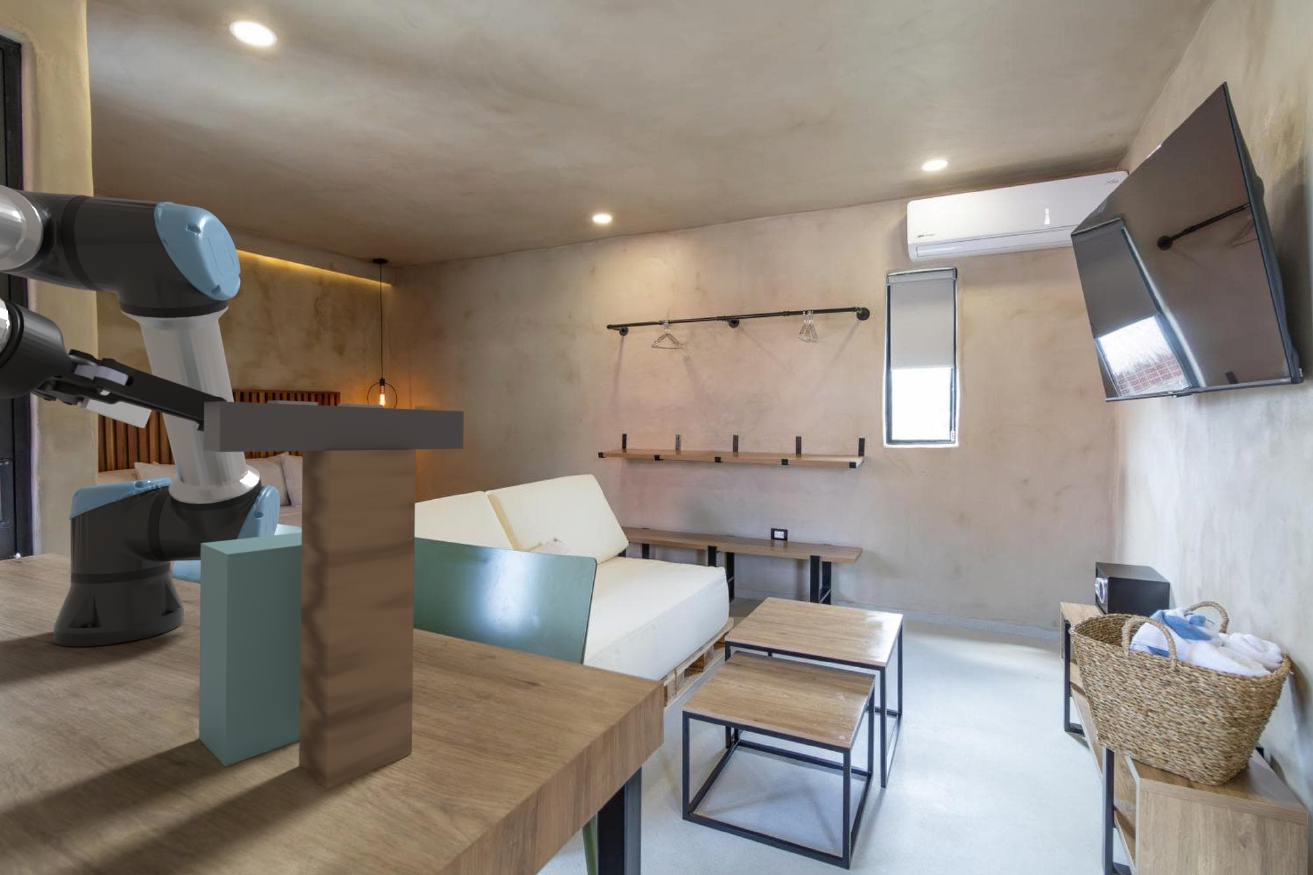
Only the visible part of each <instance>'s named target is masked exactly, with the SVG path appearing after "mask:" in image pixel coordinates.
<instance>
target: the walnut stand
mask: <svg viewBox="0 0 1313 875" xmlns="http://www.w3.org/2000/svg"><path fill="white" fill-rule="evenodd" d="M416 450H417V449H411V450H336V451H302V463H301V464H302V465H301V466H302V468H301V469H302V470H301V472H302V473H301V474H302V476H301V478H302V480H301V484H302V486H301V487H302V488H301V532H302V546H301V634H300V721H299V740H298V741H299V742H298V766H299V767H300V768H301V769H303V771H305V772H306V773H307V774H308V775H309V776H310V777H311V778H313V779H314V780H315V781H317V783H319V784H320V785H321V786H322V787H323V788H325V790H329V789H332V788H334V787H336V786H338V785H341V784H343V783H345V782H348V781H350V780H352V779H355V778H357V777H360V776H363V775H364V774H367V773H369V772H372V771H374V770H377V769H378V768H381V767H383V766H386V765H388V764H391V763H393V762H395V761H398V760H400V759H402V758H404V757H407V756H409V755H411V754H412V752H413V751H412V748H413V747H412V746H413V741H412V740H413V694H414V693H413V690H414V689H413V687H414V685H413V682H414V681H413V679H414V677H413V676H414V674H413V672H414V616H415V615H414V614H415V613H414V611H415V610H414V606H415V604H414V602H415V599H414V598H415V535H416V534H415V531H416V528H415V527H416V526H415V525H416V470H417V469H416V464H417V463H416V460H417V459H416V457H417V455H416V454H417V452H416Z"/></svg>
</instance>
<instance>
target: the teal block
mask: <svg viewBox="0 0 1313 875" xmlns="http://www.w3.org/2000/svg"><path fill="white" fill-rule="evenodd" d="M301 546H302V531H300V532H294V533H293V532H292V533H285V534H284V533H281V534H274V535H273V536H264V537H254V538H245V539H236V540H227V541H218V542H209V543H201V560H200V581H199V582H200V590H199V591H200V595H199V598H200V599H199V600H200V603H199V607H200V609H199V610H200V611H199V683H198V684H199V689H198V690H199V692H198V696H199V697H198V698H199V700H198V706H199V708H198V739H199V740H200V741H201V742H202V743H203V744H204V746H205V747H206V748H207V749H208V750H209V751H210V752H211V753H212V754H213V756H215V757H216V758H217V759H218V760H219V761H220V763H222V764H223V765H224V766H225V767H227V766H230V765H233V764H236V763H238V762H242V761H244V760H246V759H247V760H248V759H250V758H253V757H255V756H258V755H261V754H265V753H267V752H269V751H273V750H276V749H279V748H281V747H284V746H287V745H290V744H293V743H296V742H298V741H299V721H300V634H301Z"/></svg>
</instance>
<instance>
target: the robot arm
mask: <svg viewBox="0 0 1313 875" xmlns="http://www.w3.org/2000/svg"><path fill="white" fill-rule="evenodd" d="M240 264H241V263H240V260H239V256H238V252H237V248H236V245H235V243H234V241H233V239H232V237H231V235H230V233H229V231H228V230H227V228H226V227H225V225H224V224H223V223H222V222H221V220H219V218H218V217H217V216H215V215H214V214H213V213H212V212H210V211H208V210H206V209H204V208H202V207H198V206H191V205H185V204H180V203H179V204H178V203H174V202H172V201H161V200H160V201H159V200H158V201H157V200H143V199H131V198H130V199H129V198H120V197H119V198H116V197H105V196H104V197H103V196H91V195H84V194H74V193H73V194H71V193H53V192H42V191H41V192H39V191H29V190H21V189H15V188H10V187H8V186H5V185H2V184H0V273H3V274H8V275H12V276H16V277H21V278H24V279H25V278H26V279H30V280H34V281H38V282H41V283H46V284H51V285H55V286H60V287H64V288H70V289H76V290H81V291H89V292H102V293H103V292H104V293H114V294H116V296H117V300H118V304H119V307H120V311H121V313H122V314H123V315H125V316H127V317H128V318H130V319H132V320H134V321H135V322H137V323H138V324H139V327H140V330H141V334H142V339H143V341H144V342H143V343H144V346H145V351H146V354H147V358H148V363H149V365H150V369H151V373H152V374H151V373H149V372H145V371H142V370H139V369H137V368H134V367H133V366H129V365H126V364H124V363H121V362H119V361H117V360H116V359H114V358H111V357H107V358H106V357H102V358H101V359H98V358H96V357H95V356H94V355H93V354H91V353H89V352H85V351H82V350H78V349H74V348H71V349H70V350H69V351H68V352H67V349H66V346H65V343H64V342H65V341H64V335H63V333H62V331H61V328H60V327H59V326H58V324H57V323H56V322H55V321H53V320H52V319H50V318H48V317H46V316H44V315H42V314H39V313H37V312H35V311H34V310H31V309H29V308H26V307H24V306H22V305H20V304H17V303H15V302H13V301H10V300H8V299H3V298H1V297H0V399H7V400H8V399H14V398H19V397H22V396H25V395H28V394H29V393H30V394H32V395H34V396H36V397H39V398H41V399H43V400H44V401H47V402H51V401H52V402H56V401H57V399H58V400H59V401H60V402H62V403H63V404H65V405H67V406H78V404H79V403H80V406H79V408H80V409H84V410H85V411H89V412H92V413H95V414H98V415H101V416H103V417H107V418H110V419H112V420H115V421H118V422H122V423H125V424H128V425H131V426H134V427H136V428H141V429H145V427H146V425H147V423H148V420H149V418H150V416H151V413H152V412H153V411H155V412H158V413H162V418H163V422H164V425H165V429H166V434H167V437H168V438H167V439H168V441H169V446H170V450H171V453H172V457H173V461H174V464H175V469H176V473H177V476H176V477H175V478H174V479H173V480H171V477H168V476H165V477H156V478H146V479H139V480H138V479H137V480H130V481H129V480H128V481H121V482H113V483H112V482H111V483H104V484H96V485H89V486H83V487H82V488H80V489H78V490H77V491H76V492H74V494H73V496H72V501H71V508H70V515H69V518H68V520H69V521H70V586H69V590H68V592H67V594H66V596H65V599H64V601H63V604H62V606H61V608H60V611H59V613H58V616H57V618H56V619H55V623H54V624H53V625H54V626H53V642H54V644H57V645H60V646H67V647H92V646H93V647H95V646H104V645H105V646H106V645H114V644H121V643H127V642H132V641H137V640H142V639H146V638H151V637H154V636H157V635H160V634H161V635H162V634H164V633H166V632H170V631H173V630H174V629H176V628H178V627H179V626H182V624H183V623H184V622H185V607H184V605H183V602H182V600H181V598H180V595H179V593H178V591H177V588H176V585H175V583H174V580H173V578H172V575H171V574H172V573H171V562H184V561H186V562H187V561H188V562H189V561H190V562H191V561H193V562H194V561H201V543H209V542H218V541H227V540H236V539H245V538H254V537H264V536H273V535H276V531H277V528H278V523H279V516H280V509H281V508H280V507H281V498H280V497H281V496H280V492H279V491H278V489H277V488H276V487H275V486H272V485H269V484H266V485H262V479H261V474H260V472H259V470H257V469H256V468H255V467H253V466H251V465H250V464H249V465H248V464H247V462H246V457H245V456H246V455H245V452H215V451H205V450H204V402H217V401H224V402H235V401H234V396H233V389H232V385H231V378H230V376H229V369H228V368H229V367H228V364H227V359H226V354H225V348H224V345H223V344H224V342H223V339H222V334H221V328H220V323H219V319H220V317H221V316H223V315H224V313H226V311H227V310H228V309H229V303H228V300H229V299H233V298H234V297H235V296H237V294H238V292H239V289H240V287H241V278H240V274H241V265H240Z"/></svg>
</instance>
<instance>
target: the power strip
mask: <svg viewBox="0 0 1313 875" xmlns="http://www.w3.org/2000/svg"><path fill="white" fill-rule="evenodd" d="M441 407H442V406H427V405H425V406H424V405H423V406H422V405H416V406H414V409H412V408H411V409H410V408H394V407H393V408H389V407H388V408H387V407H384V405H383V404H364V403H338V404H337V405H319V403H318V402H317V401H316V402H315V401H301V400H300V401H298V400H297V401H296V400H267V403H266V402H248V401H247V402H246V401H245V402H244V401H234V402H224V401H217V402H204V450H205V451H215V452H244V453H247V452H248V453H250V452H253V453H254V452H256V453H257V452H303V451H336V450H458V449H459V450H464V422H465V421H464V419H465V418H464V413H465V412H464V411H463V410H462V411H461V410H441Z"/></svg>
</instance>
